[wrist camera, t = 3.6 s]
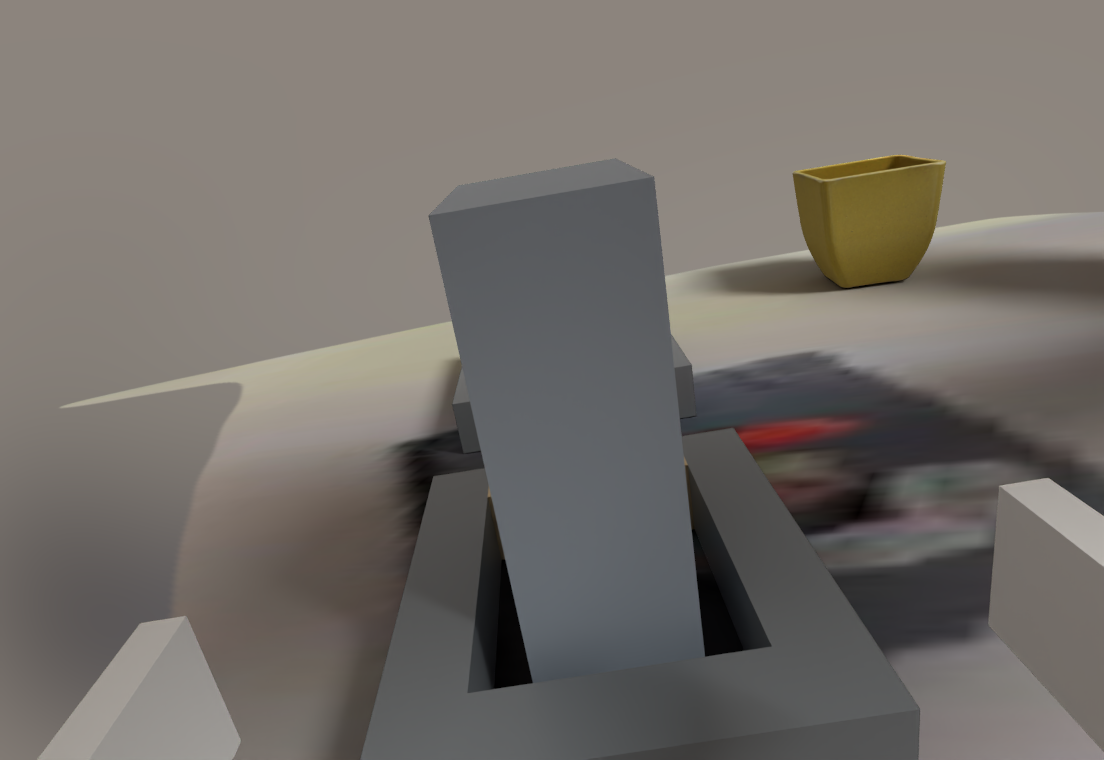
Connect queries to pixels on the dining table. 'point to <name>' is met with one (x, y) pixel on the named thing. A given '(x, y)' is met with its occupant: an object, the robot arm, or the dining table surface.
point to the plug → (576, 411)
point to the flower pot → (869, 216)
